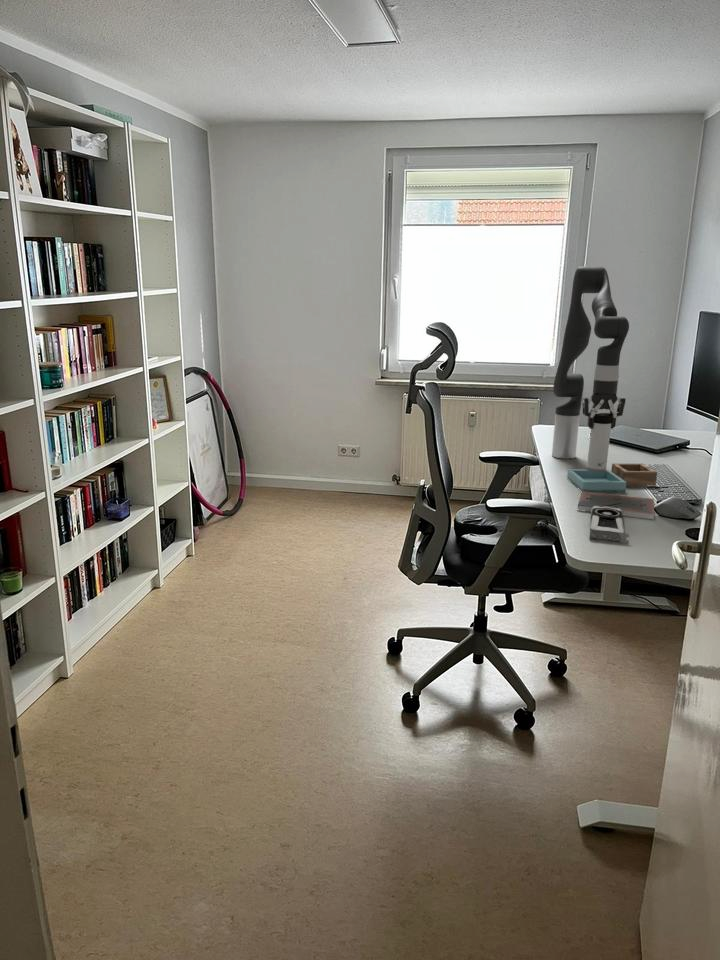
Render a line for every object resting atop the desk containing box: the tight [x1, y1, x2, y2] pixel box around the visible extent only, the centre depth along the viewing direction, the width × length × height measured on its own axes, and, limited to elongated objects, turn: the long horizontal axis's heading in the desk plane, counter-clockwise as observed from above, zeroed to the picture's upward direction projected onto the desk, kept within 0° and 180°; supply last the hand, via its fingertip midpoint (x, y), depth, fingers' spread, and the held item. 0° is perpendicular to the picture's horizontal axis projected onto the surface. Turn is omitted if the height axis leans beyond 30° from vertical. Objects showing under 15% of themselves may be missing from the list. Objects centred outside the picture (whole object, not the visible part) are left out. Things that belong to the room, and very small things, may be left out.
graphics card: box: [589, 506, 630, 544], centre depth 193 cm, size 10×3×25 cm
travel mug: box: [586, 412, 613, 472], centre depth 230 cm, size 6×7×20 cm
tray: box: [566, 469, 627, 493], centre depth 234 cm, size 16×14×4 cm
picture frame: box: [576, 491, 655, 520], centre depth 211 cm, size 16×2×22 cm
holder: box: [610, 462, 658, 487], centre depth 239 cm, size 12×11×5 cm
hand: (600, 428), depth 229 cm, fingers closed on travel mug, 6 cm apart
